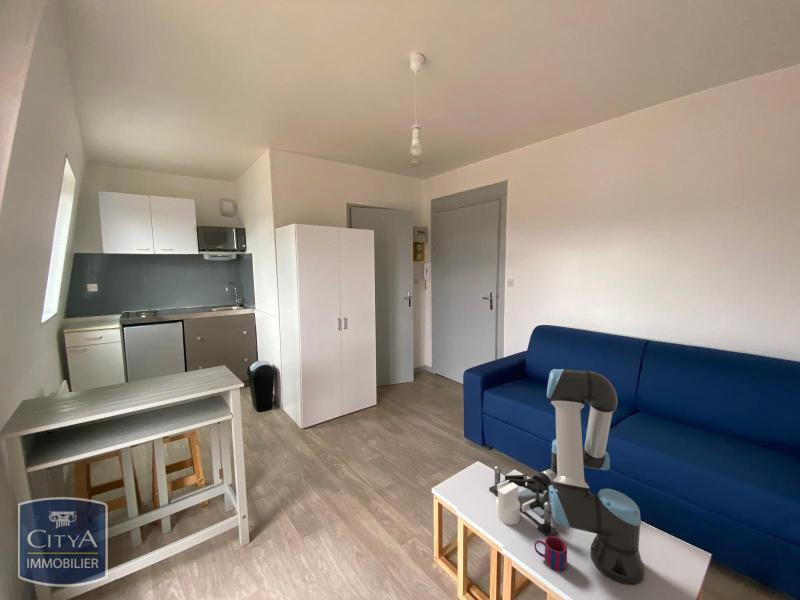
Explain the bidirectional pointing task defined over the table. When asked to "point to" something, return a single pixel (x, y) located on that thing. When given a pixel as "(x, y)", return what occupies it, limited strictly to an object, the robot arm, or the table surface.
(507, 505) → the base with upright slab
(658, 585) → the table surface
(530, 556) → the table surface
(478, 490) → the table surface
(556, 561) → the mug
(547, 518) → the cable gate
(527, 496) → the slate mat
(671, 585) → the table surface
